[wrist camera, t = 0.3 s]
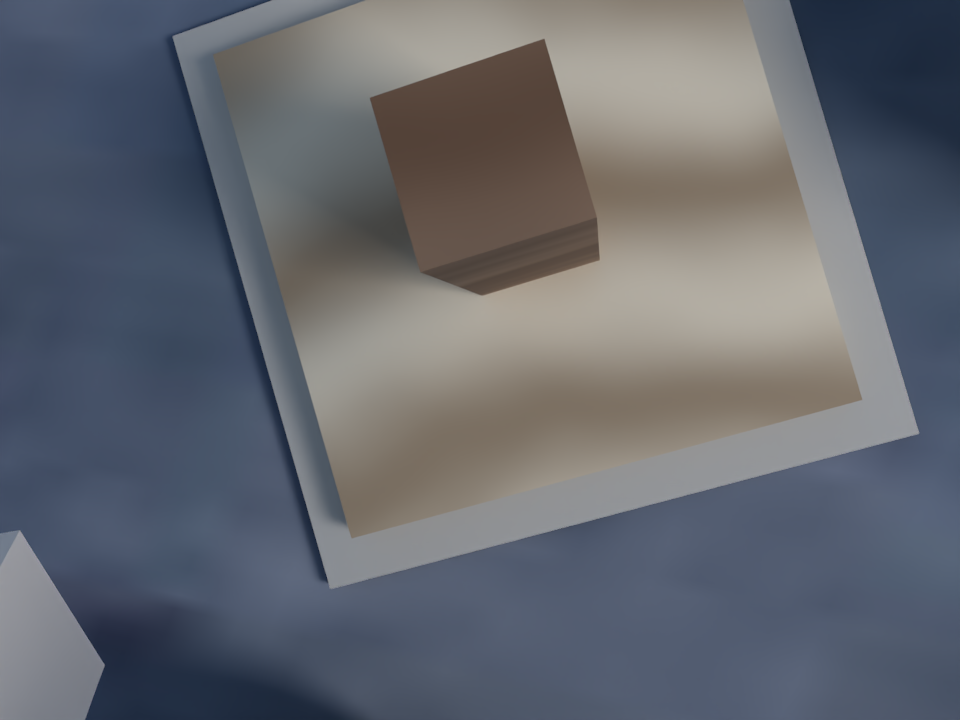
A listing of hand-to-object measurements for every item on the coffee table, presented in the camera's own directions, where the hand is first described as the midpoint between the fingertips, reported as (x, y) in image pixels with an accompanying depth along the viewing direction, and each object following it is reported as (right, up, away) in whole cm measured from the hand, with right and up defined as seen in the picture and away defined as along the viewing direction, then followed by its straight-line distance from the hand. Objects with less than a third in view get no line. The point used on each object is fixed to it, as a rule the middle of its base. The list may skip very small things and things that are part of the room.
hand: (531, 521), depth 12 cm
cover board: (+1, +6, +15) cm, 17 cm away
